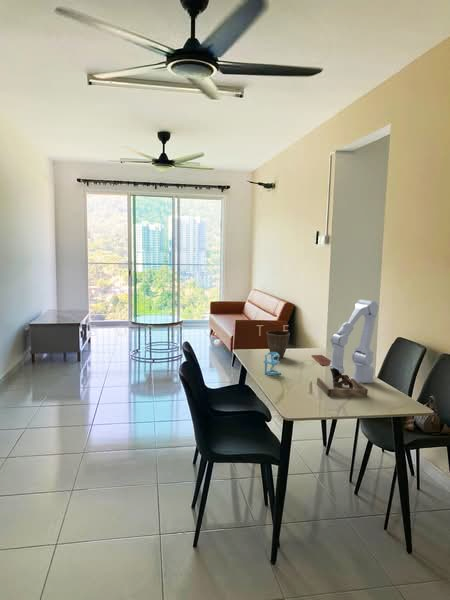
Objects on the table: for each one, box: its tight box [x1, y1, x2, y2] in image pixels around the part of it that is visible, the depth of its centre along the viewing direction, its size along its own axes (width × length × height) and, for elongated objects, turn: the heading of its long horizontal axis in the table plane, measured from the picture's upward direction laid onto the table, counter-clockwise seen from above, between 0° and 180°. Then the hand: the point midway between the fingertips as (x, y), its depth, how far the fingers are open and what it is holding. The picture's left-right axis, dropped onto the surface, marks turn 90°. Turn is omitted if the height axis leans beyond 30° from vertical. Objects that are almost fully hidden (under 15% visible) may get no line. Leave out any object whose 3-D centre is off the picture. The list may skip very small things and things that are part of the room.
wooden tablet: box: [311, 354, 332, 367], centre depth 258 cm, size 27×10×2 cm, turn 5°
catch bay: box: [316, 377, 369, 398], centre depth 202 cm, size 19×17×4 cm
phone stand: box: [263, 351, 282, 376], centre depth 225 cm, size 8×8×12 cm
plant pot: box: [266, 330, 291, 359], centre depth 260 cm, size 15×15×16 cm
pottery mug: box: [332, 374, 354, 389], centre depth 204 cm, size 12×10×8 cm
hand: (335, 382), depth 210 cm, fingers closed
